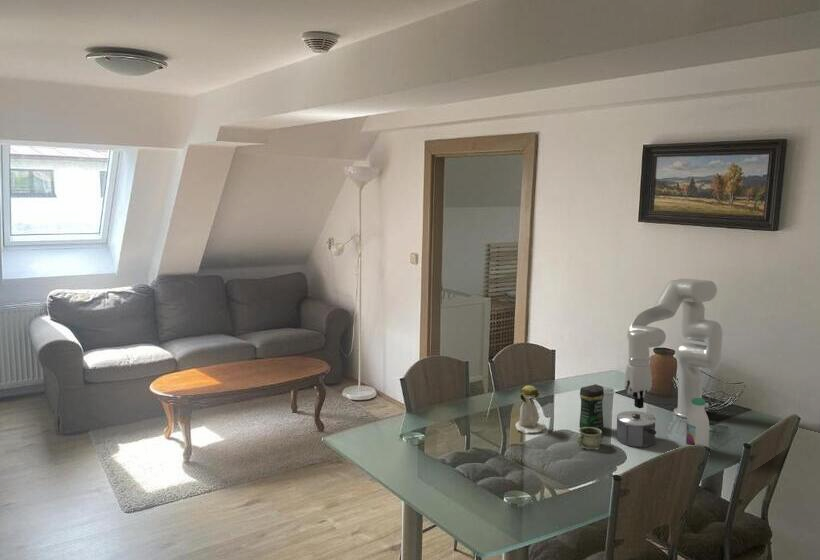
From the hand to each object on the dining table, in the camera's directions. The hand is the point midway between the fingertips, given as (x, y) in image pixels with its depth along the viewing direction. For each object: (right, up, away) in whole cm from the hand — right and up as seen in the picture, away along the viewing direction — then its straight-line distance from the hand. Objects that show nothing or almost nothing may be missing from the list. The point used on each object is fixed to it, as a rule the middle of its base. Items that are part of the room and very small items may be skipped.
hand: (638, 407), depth 245 cm
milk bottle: (+18, -14, -11) cm, 25 cm away
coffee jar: (-14, -12, +15) cm, 24 cm away
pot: (-1, -13, +1) cm, 14 cm away
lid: (-1, -5, 0) cm, 5 cm away
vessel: (-20, -15, -3) cm, 25 cm away
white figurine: (-39, -13, +17) cm, 45 cm away
